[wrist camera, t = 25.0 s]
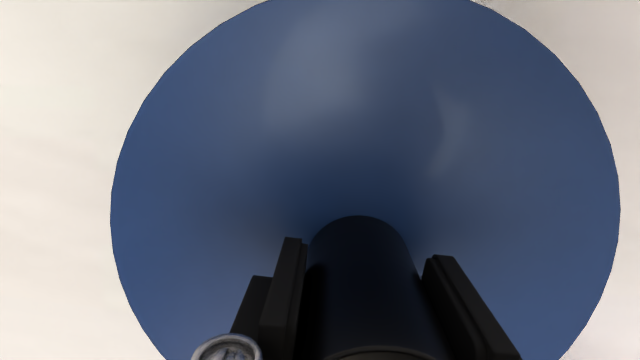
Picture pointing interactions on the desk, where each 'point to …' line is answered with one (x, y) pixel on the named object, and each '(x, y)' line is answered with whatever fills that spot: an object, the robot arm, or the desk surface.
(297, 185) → the pot lid
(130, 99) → the desk surface
